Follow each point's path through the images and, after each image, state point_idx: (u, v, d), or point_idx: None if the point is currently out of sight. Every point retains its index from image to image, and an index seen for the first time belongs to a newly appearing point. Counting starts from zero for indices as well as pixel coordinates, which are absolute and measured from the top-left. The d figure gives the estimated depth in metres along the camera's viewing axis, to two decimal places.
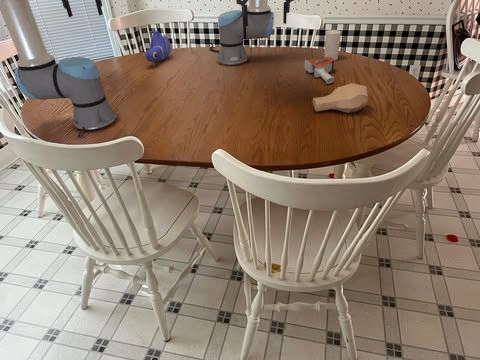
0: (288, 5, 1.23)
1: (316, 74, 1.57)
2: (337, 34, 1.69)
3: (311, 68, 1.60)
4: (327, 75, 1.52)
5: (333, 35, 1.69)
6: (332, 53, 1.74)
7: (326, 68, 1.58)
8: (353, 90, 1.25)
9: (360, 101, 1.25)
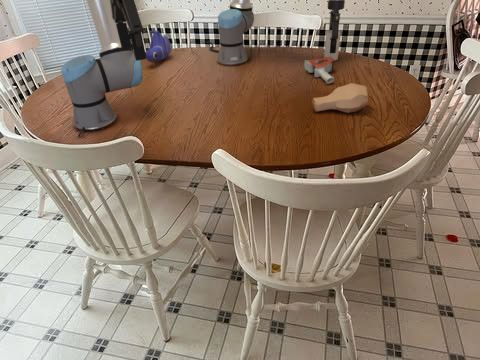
0: None
1: (316, 74, 1.57)
2: None
3: (311, 68, 1.60)
4: (327, 75, 1.52)
5: None
6: (332, 53, 1.74)
7: (326, 68, 1.58)
8: (353, 90, 1.25)
9: (360, 101, 1.25)
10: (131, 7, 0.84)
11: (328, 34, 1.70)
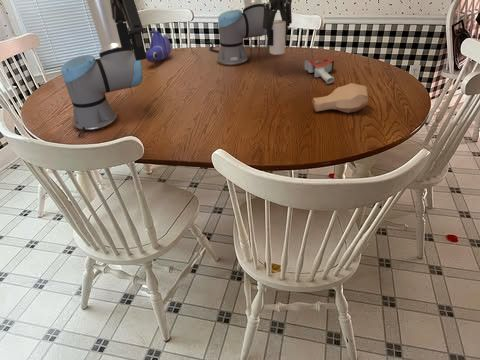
0: (287, 27, 1.56)
1: (316, 74, 1.57)
2: (274, 25, 1.50)
3: (311, 68, 1.60)
4: (327, 75, 1.52)
5: None
6: None
7: (326, 68, 1.58)
8: (353, 90, 1.25)
9: (360, 101, 1.25)
10: (131, 7, 0.84)
11: None
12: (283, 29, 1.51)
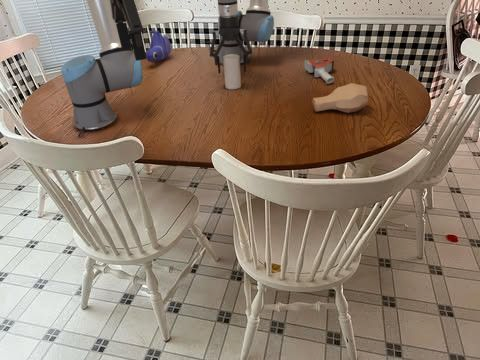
0: (246, 57, 1.48)
1: (316, 74, 1.57)
2: (224, 59, 1.47)
3: (311, 68, 1.60)
4: (327, 75, 1.52)
5: (223, 59, 1.49)
6: None
7: (326, 68, 1.58)
8: (353, 90, 1.25)
9: (360, 101, 1.25)
10: (131, 7, 0.84)
11: None
12: (232, 65, 1.47)
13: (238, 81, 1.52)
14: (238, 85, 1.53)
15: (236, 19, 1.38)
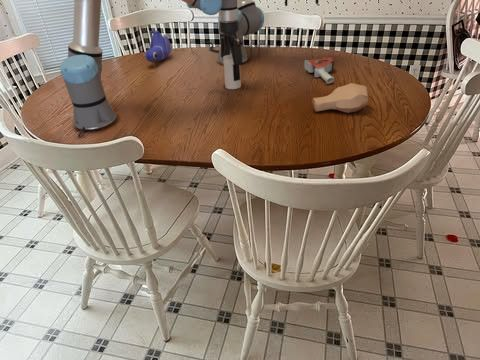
0: None
1: (316, 74, 1.57)
2: (224, 59, 1.47)
3: (311, 68, 1.60)
4: (327, 75, 1.52)
5: (223, 59, 1.49)
6: None
7: (326, 68, 1.58)
8: (353, 90, 1.25)
9: (360, 101, 1.25)
10: (238, 50, 1.41)
11: None
12: (232, 65, 1.47)
13: (238, 81, 1.52)
14: (238, 85, 1.53)
15: None
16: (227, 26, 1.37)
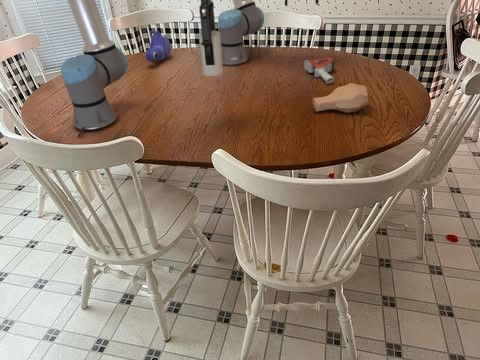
0: None
1: (316, 74, 1.57)
2: None
3: (311, 68, 1.60)
4: (327, 75, 1.52)
5: None
6: None
7: (326, 68, 1.58)
8: (353, 90, 1.25)
9: (360, 101, 1.25)
10: (205, 25, 1.06)
11: None
12: None
13: (213, 67, 1.17)
14: (214, 72, 1.18)
15: None
16: None
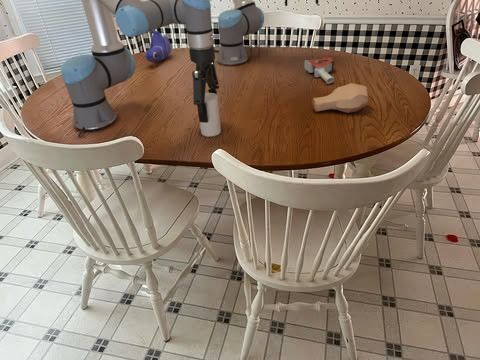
0: None
1: (316, 74, 1.57)
2: None
3: (311, 68, 1.60)
4: (327, 75, 1.52)
5: None
6: None
7: (326, 68, 1.58)
8: (353, 90, 1.25)
9: (360, 101, 1.25)
10: (197, 86, 1.06)
11: None
12: None
13: (209, 128, 1.18)
14: (210, 133, 1.19)
15: None
16: (191, 53, 1.05)
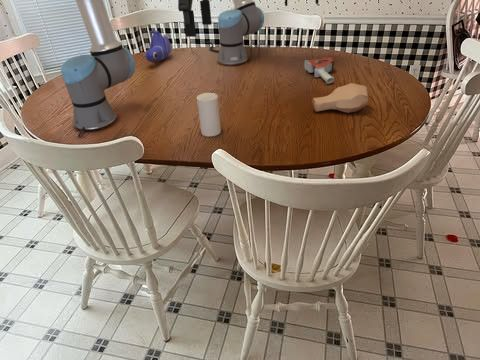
0: None
1: (316, 74, 1.57)
2: None
3: (311, 68, 1.60)
4: (327, 75, 1.52)
5: None
6: None
7: (326, 68, 1.58)
8: (353, 90, 1.25)
9: (360, 101, 1.25)
10: None
11: None
12: (201, 108, 1.15)
13: (209, 128, 1.18)
14: (210, 133, 1.19)
15: None
16: None
